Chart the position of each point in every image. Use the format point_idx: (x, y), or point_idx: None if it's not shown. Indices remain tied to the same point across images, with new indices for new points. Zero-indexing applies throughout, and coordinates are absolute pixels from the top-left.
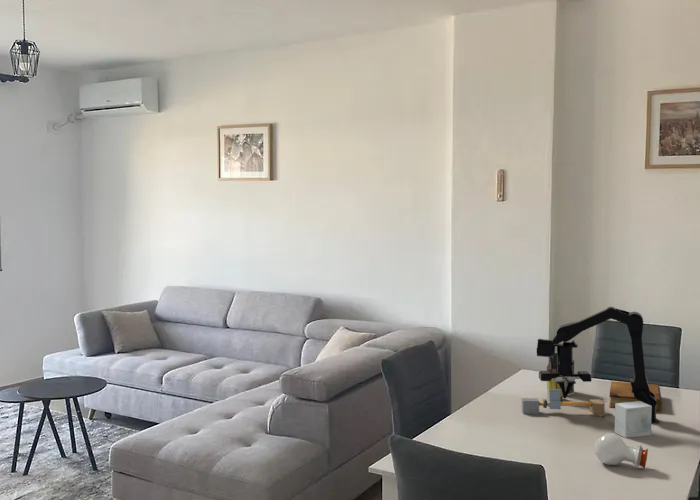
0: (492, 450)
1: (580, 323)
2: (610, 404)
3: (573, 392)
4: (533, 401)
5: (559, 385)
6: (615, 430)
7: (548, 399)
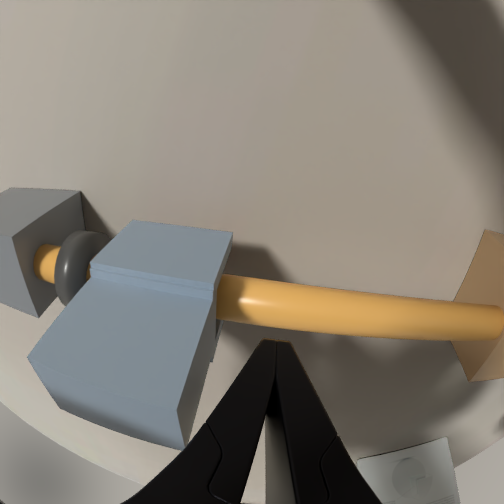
0: (56, 437)
1: None
2: None
3: None
4: (12, 305)
5: (166, 484)
6: (357, 467)
7: (97, 280)
